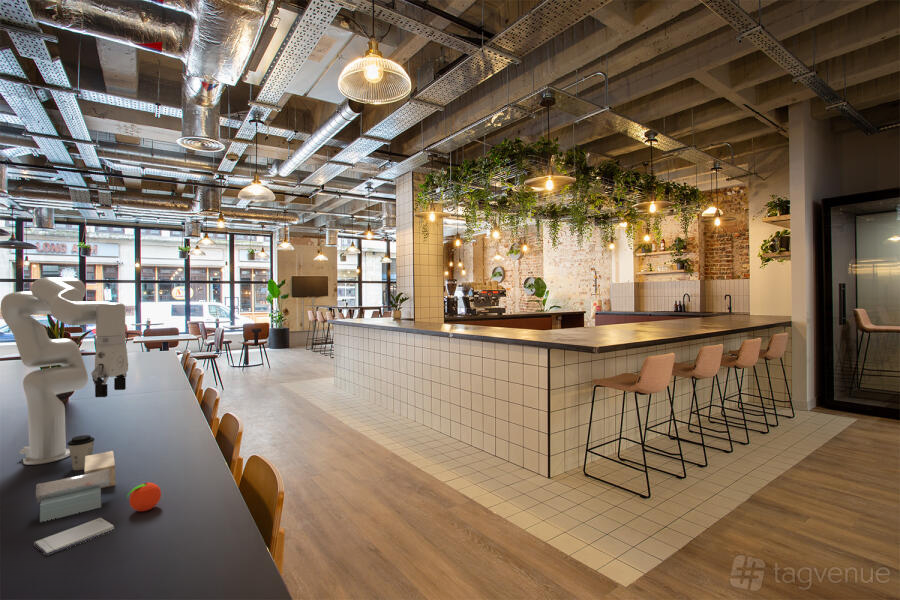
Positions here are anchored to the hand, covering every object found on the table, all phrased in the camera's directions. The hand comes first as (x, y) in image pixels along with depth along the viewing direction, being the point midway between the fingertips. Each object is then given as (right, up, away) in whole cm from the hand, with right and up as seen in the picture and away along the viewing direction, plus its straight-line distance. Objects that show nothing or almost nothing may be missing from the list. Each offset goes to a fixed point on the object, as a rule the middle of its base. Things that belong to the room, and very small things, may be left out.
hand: (110, 393), depth 142 cm
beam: (+2, -25, -7) cm, 26 cm away
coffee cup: (-12, -26, +3) cm, 29 cm away
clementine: (+29, -26, -27) cm, 47 cm away
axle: (+8, -22, -23) cm, 33 cm away
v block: (+8, -26, -24) cm, 36 cm away
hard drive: (+22, -26, -39) cm, 52 cm away
